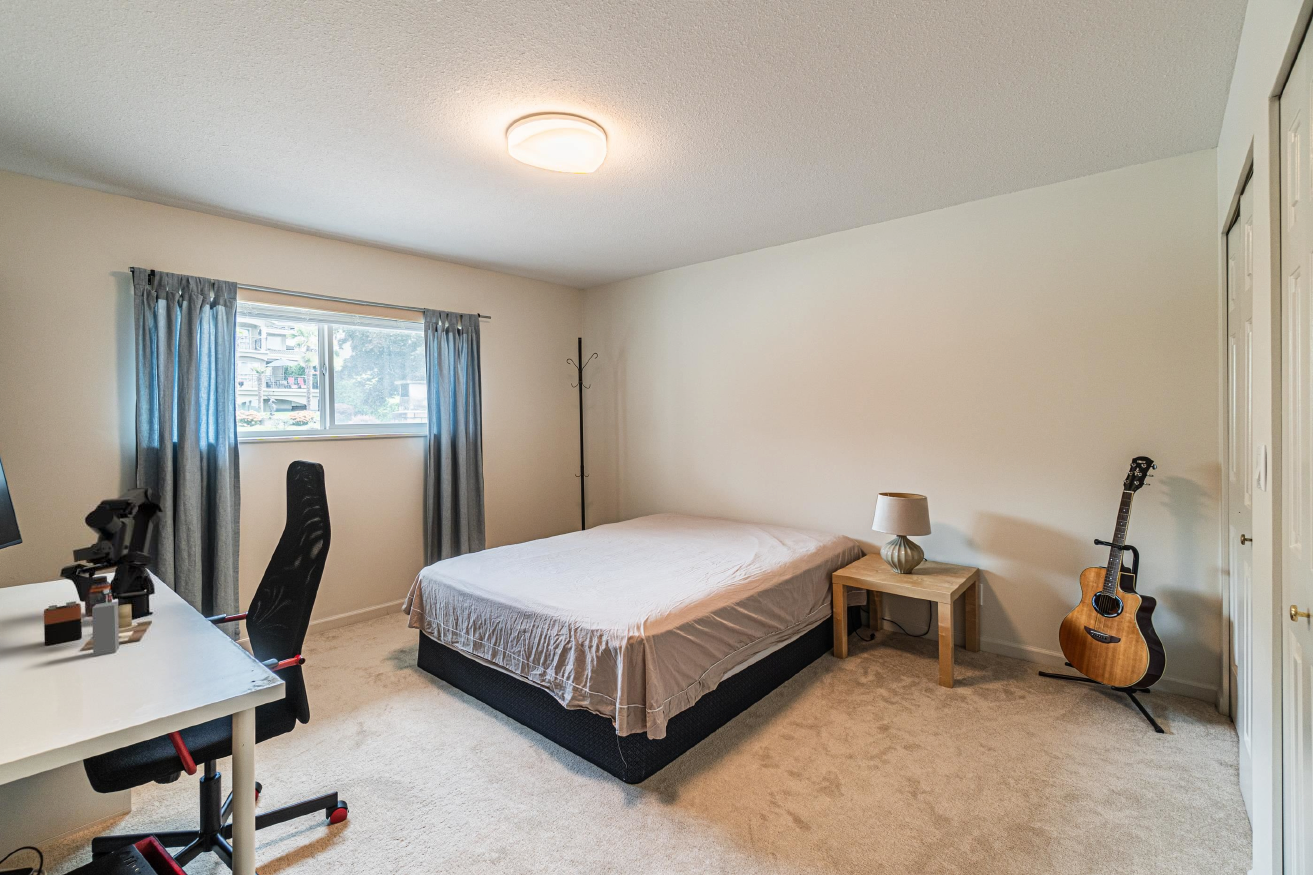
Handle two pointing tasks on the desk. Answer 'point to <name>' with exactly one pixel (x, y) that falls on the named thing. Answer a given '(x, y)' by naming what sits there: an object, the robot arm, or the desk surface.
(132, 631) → the board
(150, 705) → the desk surface
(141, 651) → the desk surface
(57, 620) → the battery
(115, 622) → the leg
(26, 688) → the desk surface
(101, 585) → the supplement bottle
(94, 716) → the desk surface
